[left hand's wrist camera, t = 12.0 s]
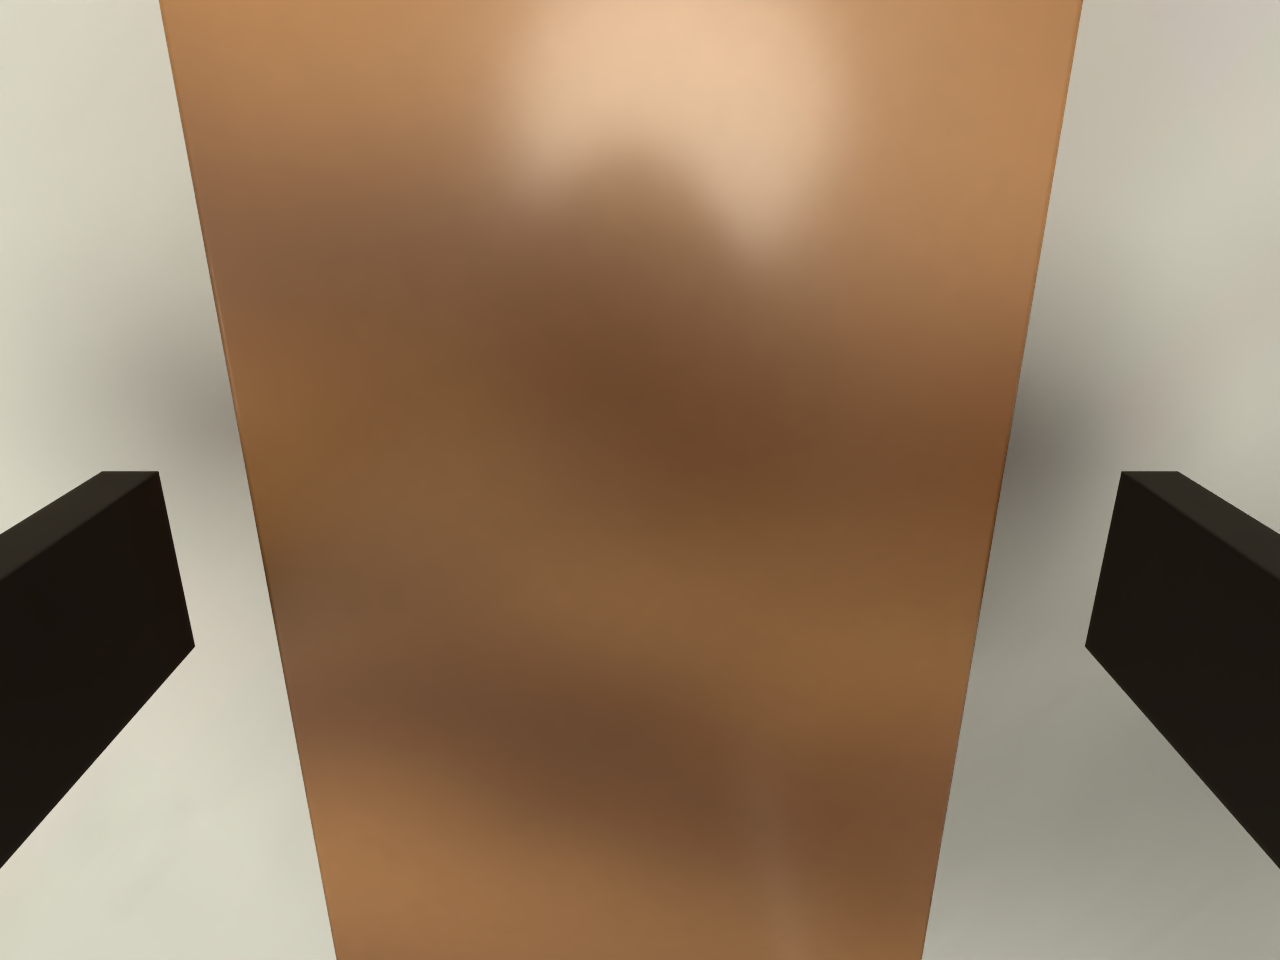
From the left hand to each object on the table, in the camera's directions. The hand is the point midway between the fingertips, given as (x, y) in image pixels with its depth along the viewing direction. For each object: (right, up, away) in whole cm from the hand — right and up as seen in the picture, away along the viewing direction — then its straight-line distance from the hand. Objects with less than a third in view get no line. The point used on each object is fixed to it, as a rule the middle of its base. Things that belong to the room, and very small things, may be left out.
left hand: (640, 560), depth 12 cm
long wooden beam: (0, +24, -3) cm, 24 cm away
